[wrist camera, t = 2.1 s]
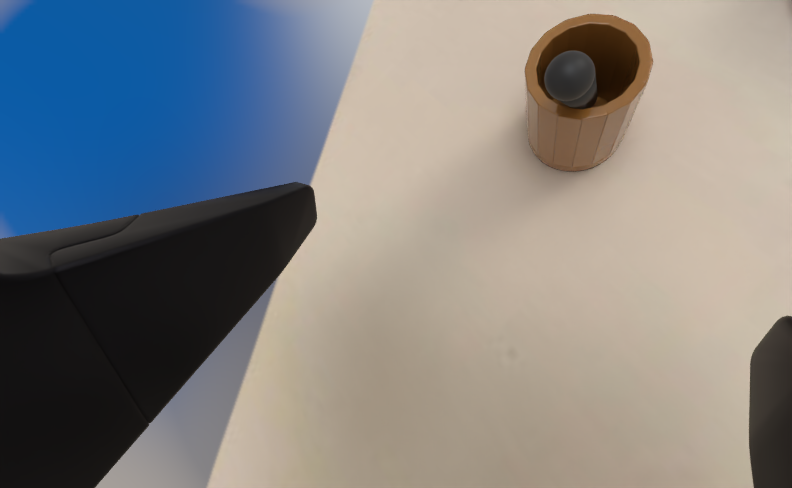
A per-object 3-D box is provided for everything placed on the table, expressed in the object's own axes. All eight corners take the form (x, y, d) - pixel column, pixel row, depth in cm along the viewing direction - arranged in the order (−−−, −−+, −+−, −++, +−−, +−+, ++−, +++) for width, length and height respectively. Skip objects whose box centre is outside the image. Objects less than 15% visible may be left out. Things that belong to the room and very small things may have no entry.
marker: (565, 204, 20) (590, 87, 11) (537, 198, 20) (538, 81, 11) (598, 94, 21) (652, -110, 11) (571, 90, 21) (600, -109, 12)
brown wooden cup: (609, 180, 20) (634, 127, 15) (516, 161, 22) (511, 109, 17) (634, 96, 21) (666, 18, 15) (542, 84, 22) (543, 9, 17)
